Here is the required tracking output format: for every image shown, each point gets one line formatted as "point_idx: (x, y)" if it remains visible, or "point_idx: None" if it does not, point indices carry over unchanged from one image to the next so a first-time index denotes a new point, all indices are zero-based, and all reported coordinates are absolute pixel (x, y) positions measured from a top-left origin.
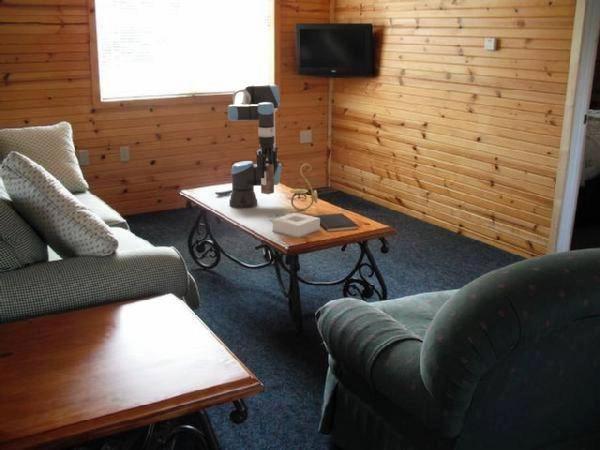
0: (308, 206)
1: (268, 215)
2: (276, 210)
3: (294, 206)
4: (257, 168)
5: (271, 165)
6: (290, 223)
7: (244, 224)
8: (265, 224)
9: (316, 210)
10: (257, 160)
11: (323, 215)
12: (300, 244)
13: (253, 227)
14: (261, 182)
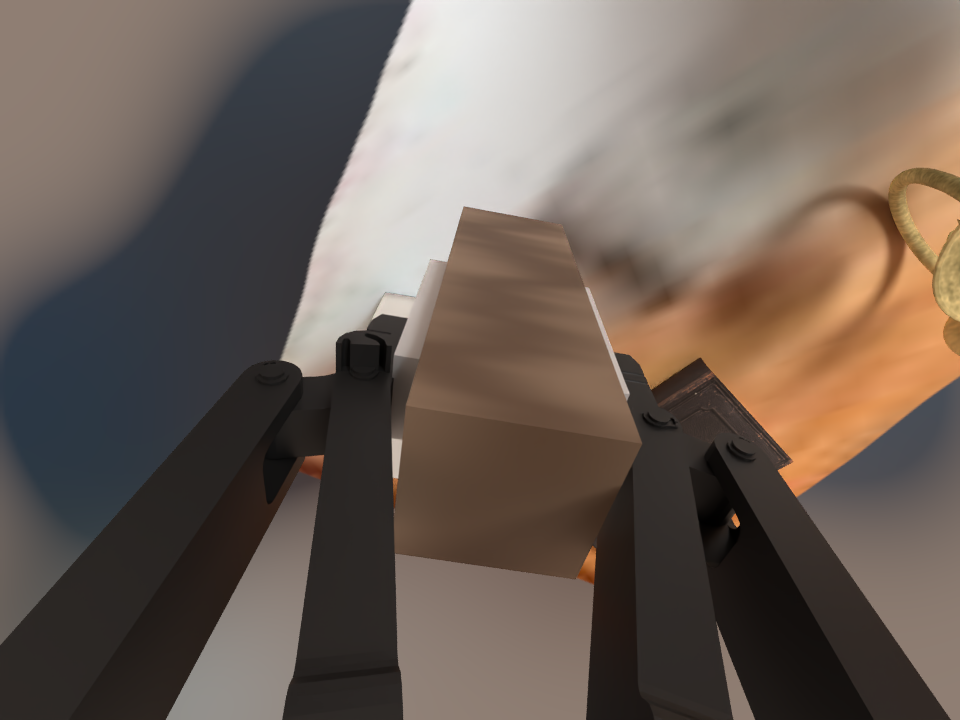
0: (930, 262)
1: (713, 55)
2: (885, 27)
3: (899, 187)
4: (232, 398)
5: (513, 562)
6: None
7: (414, 23)
8: (489, 174)
9: (902, 300)
10: (90, 580)
11: (725, 410)
12: (313, 465)
13: (391, 138)
14: (426, 272)
